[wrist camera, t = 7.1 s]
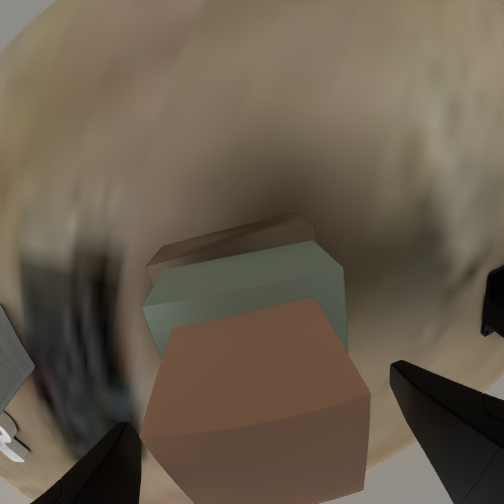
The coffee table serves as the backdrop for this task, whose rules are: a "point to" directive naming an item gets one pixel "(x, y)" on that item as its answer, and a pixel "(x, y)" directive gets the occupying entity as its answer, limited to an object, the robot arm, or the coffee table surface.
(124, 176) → the coffee table surface
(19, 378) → the small box
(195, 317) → the sage top block
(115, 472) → the robot arm
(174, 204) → the coffee table surface
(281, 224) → the walnut base block
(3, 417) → the joystick
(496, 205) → the coffee table surface
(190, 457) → the terracotta cube
